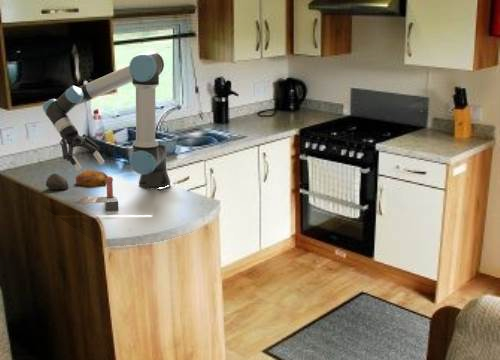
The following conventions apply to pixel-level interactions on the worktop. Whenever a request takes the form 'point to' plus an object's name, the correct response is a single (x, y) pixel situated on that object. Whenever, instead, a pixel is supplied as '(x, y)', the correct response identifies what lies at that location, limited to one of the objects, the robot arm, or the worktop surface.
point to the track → (92, 200)
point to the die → (111, 204)
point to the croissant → (91, 178)
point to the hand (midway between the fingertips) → (91, 166)
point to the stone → (56, 182)
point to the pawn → (109, 187)
